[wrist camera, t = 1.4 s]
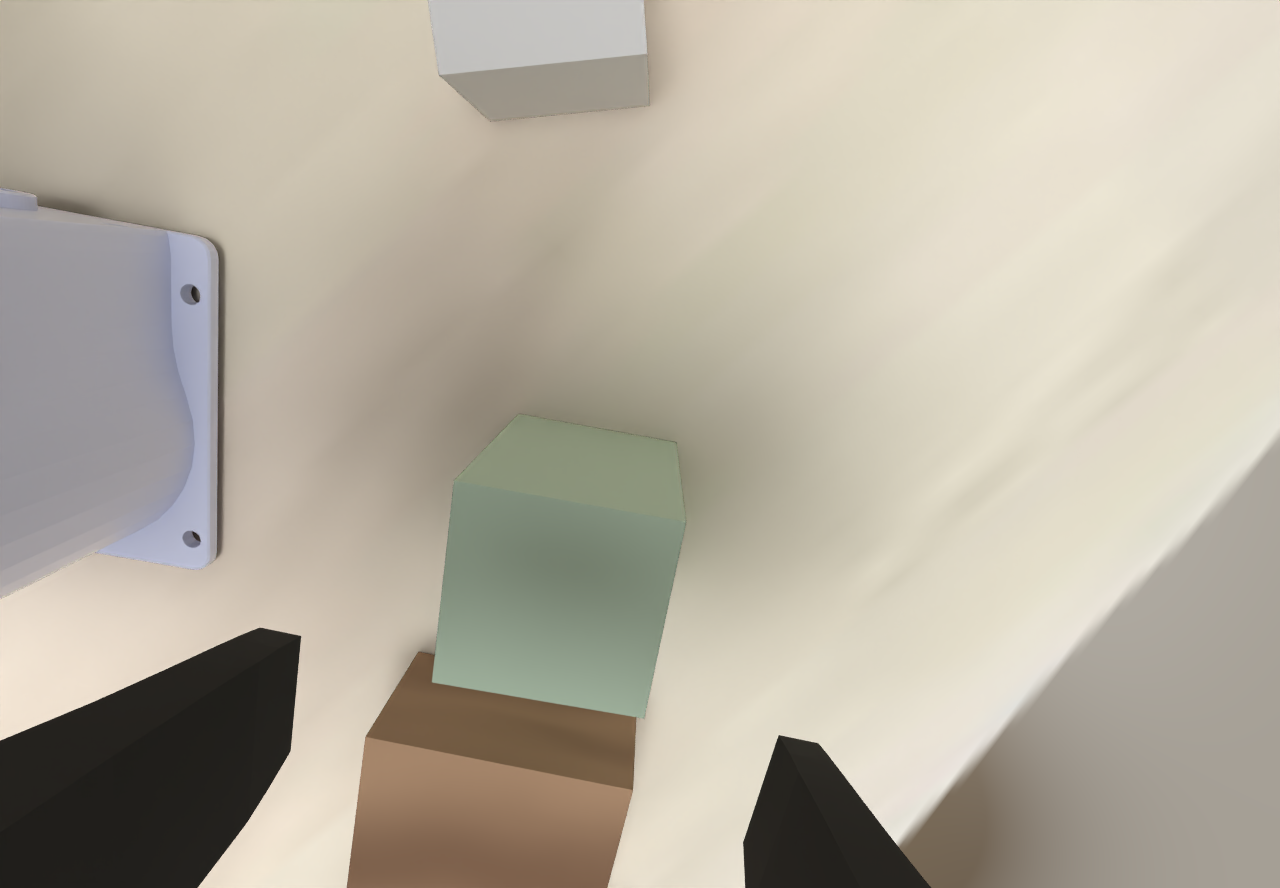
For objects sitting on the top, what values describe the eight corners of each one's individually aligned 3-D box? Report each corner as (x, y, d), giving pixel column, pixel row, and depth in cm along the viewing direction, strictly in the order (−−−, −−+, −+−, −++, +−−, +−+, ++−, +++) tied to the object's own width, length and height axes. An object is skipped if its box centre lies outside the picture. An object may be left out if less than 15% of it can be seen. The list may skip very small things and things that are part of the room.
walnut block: (421, 647, 20) (365, 736, 16) (637, 692, 20) (633, 790, 17) (395, 821, 22) (340, 938, 18) (594, 860, 22) (581, 984, 18)
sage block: (519, 413, 18) (454, 480, 12) (676, 442, 18) (685, 522, 12) (499, 558, 19) (431, 682, 13) (647, 584, 19) (644, 718, 13)
